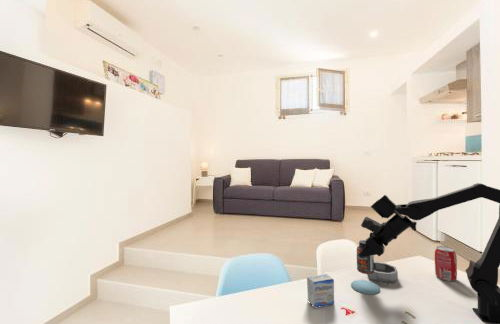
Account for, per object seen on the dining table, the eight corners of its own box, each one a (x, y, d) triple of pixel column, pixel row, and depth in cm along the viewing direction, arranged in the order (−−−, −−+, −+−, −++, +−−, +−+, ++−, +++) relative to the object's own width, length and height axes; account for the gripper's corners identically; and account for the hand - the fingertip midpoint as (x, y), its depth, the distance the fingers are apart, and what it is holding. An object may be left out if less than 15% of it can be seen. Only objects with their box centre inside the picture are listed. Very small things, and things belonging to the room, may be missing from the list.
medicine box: (313, 308, 82) (313, 282, 82) (307, 301, 87) (306, 276, 87) (334, 304, 84) (334, 279, 84) (327, 297, 89) (326, 273, 89)
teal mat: (381, 296, 89) (381, 295, 89) (351, 291, 92) (351, 290, 92) (378, 283, 98) (378, 282, 98) (350, 279, 102) (350, 278, 102)
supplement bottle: (354, 271, 95) (353, 242, 95) (360, 266, 99) (359, 238, 99) (371, 276, 91) (370, 245, 91) (376, 270, 95) (375, 241, 95)
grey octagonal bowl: (399, 285, 96) (399, 275, 96) (368, 281, 100) (368, 271, 100) (394, 273, 106) (394, 264, 106) (366, 270, 110) (366, 261, 110)
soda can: (449, 274, 104) (448, 245, 104) (461, 282, 97) (461, 251, 97) (431, 274, 105) (430, 245, 105) (442, 282, 98) (441, 251, 98)
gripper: (378, 206, 101) (350, 230, 107) (371, 215, 85) (339, 243, 91) (401, 228, 96) (371, 252, 102) (398, 242, 81) (363, 269, 87)
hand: (361, 253), depth 96 cm, fingers closed on supplement bottle, 6 cm apart
